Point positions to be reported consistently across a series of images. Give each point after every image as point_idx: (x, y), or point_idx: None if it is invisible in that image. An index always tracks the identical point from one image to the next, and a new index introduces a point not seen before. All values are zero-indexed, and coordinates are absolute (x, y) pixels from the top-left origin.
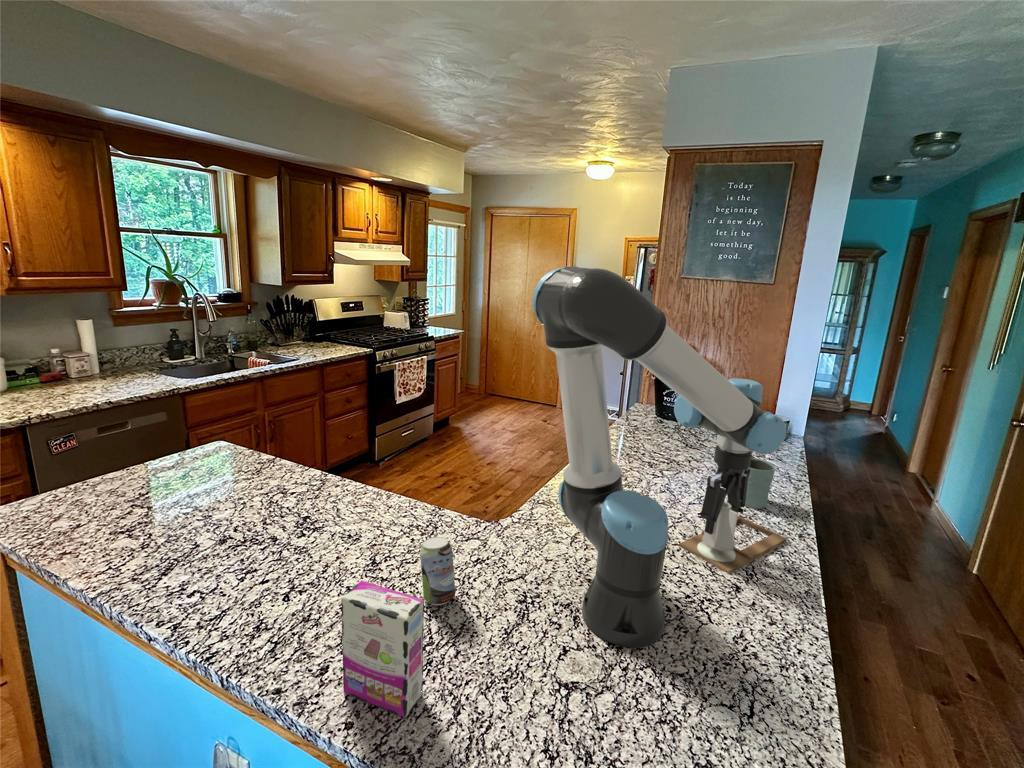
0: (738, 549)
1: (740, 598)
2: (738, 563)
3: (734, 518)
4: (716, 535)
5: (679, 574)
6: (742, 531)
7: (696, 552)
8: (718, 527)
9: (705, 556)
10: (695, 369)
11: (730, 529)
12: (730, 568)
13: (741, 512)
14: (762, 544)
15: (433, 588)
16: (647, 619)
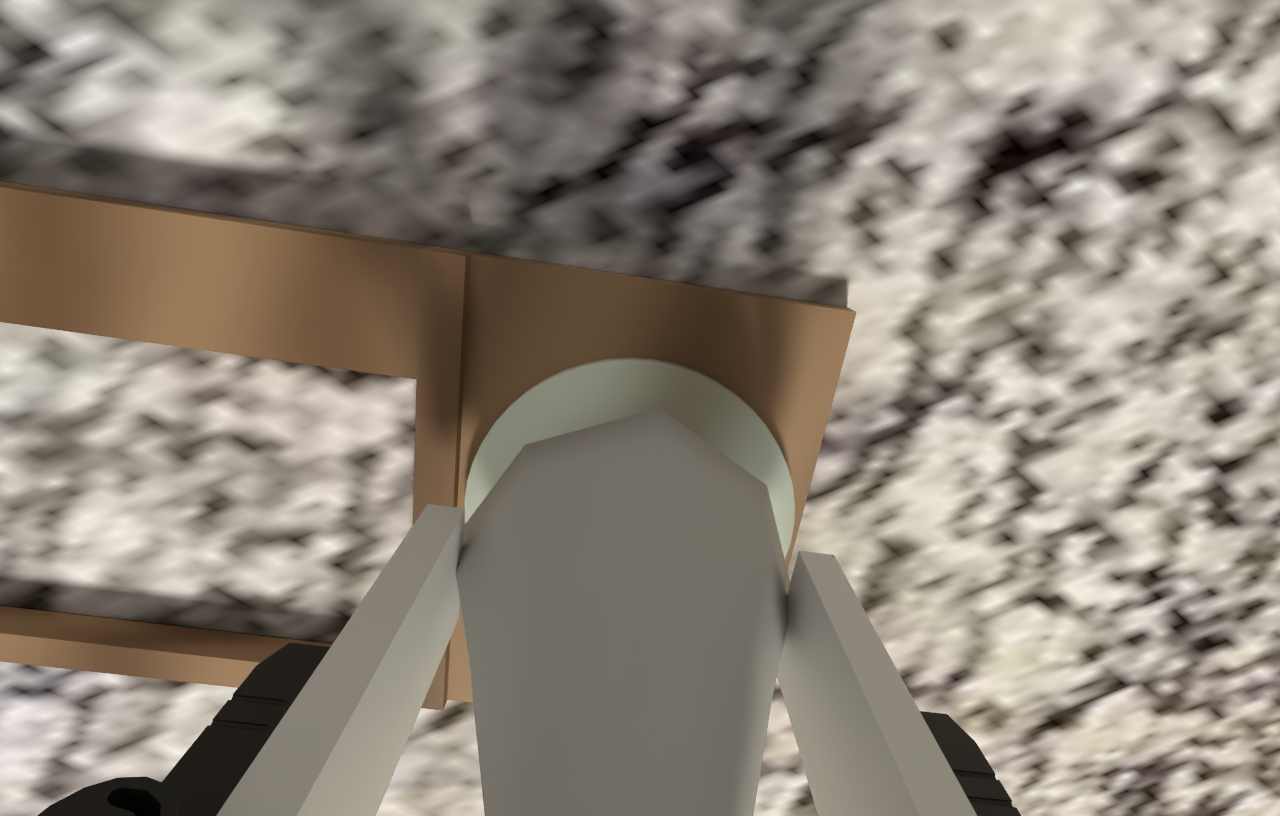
0: (422, 401)
1: (1180, 59)
2: (646, 305)
3: (350, 733)
4: (853, 654)
5: (1133, 552)
6: (25, 511)
7: None
8: (748, 738)
9: (787, 538)
10: None
11: (565, 611)
12: (792, 320)
13: (129, 798)
14: (85, 278)
15: None
16: None
